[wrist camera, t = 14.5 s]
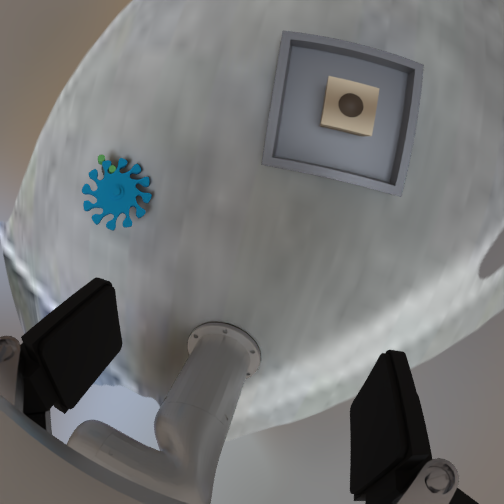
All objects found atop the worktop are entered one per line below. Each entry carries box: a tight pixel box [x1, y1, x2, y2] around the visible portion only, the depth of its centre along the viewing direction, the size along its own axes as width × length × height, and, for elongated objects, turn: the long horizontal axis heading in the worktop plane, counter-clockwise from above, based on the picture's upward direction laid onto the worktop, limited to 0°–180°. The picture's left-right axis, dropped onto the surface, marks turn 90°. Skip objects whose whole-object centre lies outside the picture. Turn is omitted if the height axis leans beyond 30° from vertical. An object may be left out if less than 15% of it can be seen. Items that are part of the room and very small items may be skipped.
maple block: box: [320, 76, 379, 137], centre depth 26 cm, size 5×5×6 cm
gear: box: [82, 155, 152, 230], centre depth 37 cm, size 11×6×10 cm
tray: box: [261, 31, 424, 197], centre depth 28 cm, size 16×16×4 cm
